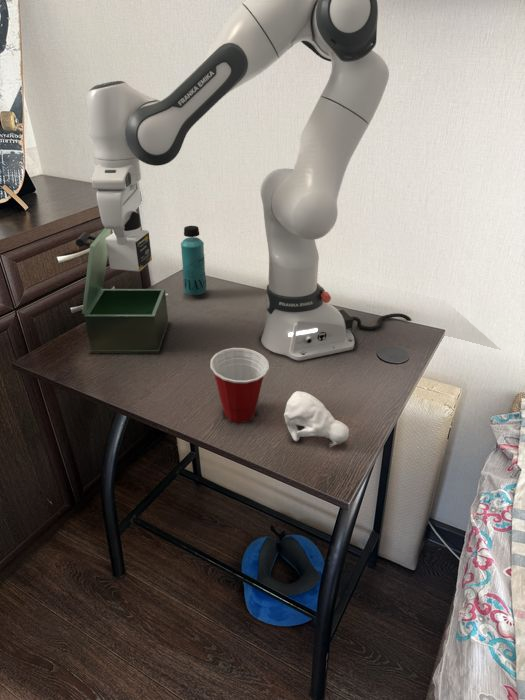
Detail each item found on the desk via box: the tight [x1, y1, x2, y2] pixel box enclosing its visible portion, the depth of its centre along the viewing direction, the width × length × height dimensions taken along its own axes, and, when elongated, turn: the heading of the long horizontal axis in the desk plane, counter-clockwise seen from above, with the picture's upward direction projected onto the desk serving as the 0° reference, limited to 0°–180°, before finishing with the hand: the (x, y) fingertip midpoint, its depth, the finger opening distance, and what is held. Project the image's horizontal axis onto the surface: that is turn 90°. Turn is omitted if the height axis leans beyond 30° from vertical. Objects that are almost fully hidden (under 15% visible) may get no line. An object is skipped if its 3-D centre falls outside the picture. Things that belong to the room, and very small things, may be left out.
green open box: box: [84, 288, 169, 354], centre depth 120 cm, size 16×15×10 cm
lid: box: [75, 227, 112, 315], centre depth 113 cm, size 16×15×5 cm
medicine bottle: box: [105, 210, 153, 272], centre depth 110 cm, size 7×7×12 cm
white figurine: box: [283, 390, 350, 448], centre depth 90 cm, size 6×8×12 cm
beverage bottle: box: [180, 225, 207, 296], centre depth 138 cm, size 6×7×20 cm
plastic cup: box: [210, 347, 270, 423], centre depth 94 cm, size 11×11×12 cm
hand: (127, 237), depth 109 cm, fingers closed on medicine bottle, 7 cm apart
